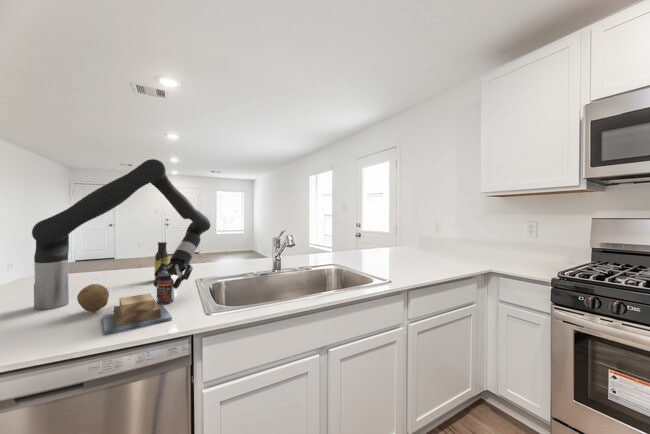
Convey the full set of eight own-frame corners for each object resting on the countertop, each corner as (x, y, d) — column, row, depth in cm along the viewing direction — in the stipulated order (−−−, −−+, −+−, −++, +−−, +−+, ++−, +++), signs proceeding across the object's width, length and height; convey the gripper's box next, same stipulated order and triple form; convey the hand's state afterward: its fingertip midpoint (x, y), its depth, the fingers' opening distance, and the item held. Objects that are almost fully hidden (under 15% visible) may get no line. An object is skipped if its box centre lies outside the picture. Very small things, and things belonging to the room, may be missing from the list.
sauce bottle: (162, 281, 143) (161, 243, 142) (151, 281, 144) (151, 242, 143) (171, 278, 149) (171, 241, 149) (161, 277, 151) (161, 241, 150)
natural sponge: (83, 308, 104) (83, 282, 104) (112, 305, 108) (112, 280, 108) (73, 317, 96) (72, 288, 96) (105, 314, 100) (104, 286, 99)
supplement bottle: (155, 305, 108) (155, 276, 108) (157, 301, 114) (157, 273, 114) (173, 303, 111) (172, 275, 111) (174, 299, 116) (174, 272, 116)
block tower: (104, 334, 83) (104, 311, 83) (102, 318, 96) (102, 298, 95) (172, 319, 95) (171, 299, 95) (162, 306, 107) (162, 288, 107)
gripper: (165, 248, 122) (144, 281, 111) (194, 249, 119) (176, 283, 108) (173, 258, 127) (154, 290, 116) (202, 259, 125) (185, 292, 114)
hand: (165, 287), depth 112 cm, fingers open, 8 cm apart
